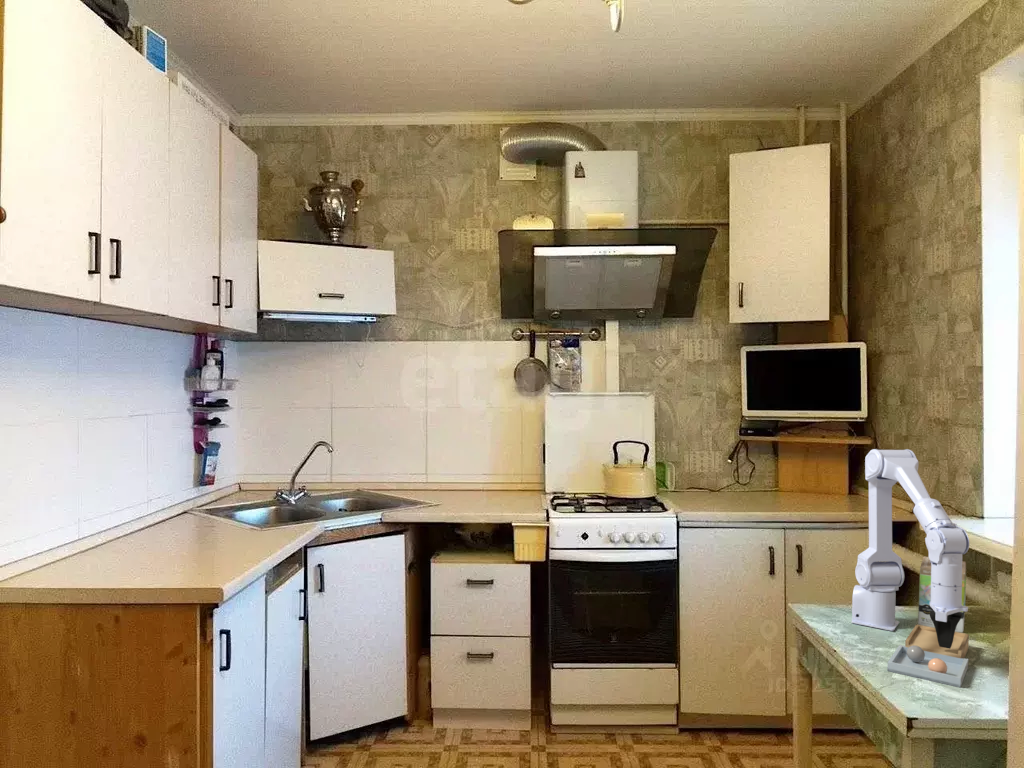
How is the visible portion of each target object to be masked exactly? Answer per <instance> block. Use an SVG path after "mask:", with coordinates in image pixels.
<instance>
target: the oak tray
mask: <svg viewBox="0 0 1024 768" xmlns="http://www.w3.org/2000/svg"><path fill="white" fill-rule="evenodd" d="M969 635H970V634H968V633H964V632H955V634H954V639H953V643H952V646H951V648H950V649H949V648H944V647H940V646H939V643H938V639H937V634H936V629H935V628H933V627H928V626H923V625H918V623H916V624H915V626H914V627H913V628H912V630H911V632H909V634H908V636H907V638H906V639H905V645H904V646H905V647H908V648H909V647H910V646H913V645H916V646H919V647H921V648H922V649H923V651H927V652H932V653H937V654H942V655H947V656H951V657H956V658H965V657H966V656H967V653H968V650H969V649H970V648H969V647H970V646H969V640H970V639H969V638H970V637H969ZM965 659H966V658H965Z"/></svg>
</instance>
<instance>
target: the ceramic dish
mask: <svg viewBox="0 0 1024 768" xmlns="http://www.w3.org/2000/svg"><path fill="white" fill-rule="evenodd" d="M907 649H908V647H905V645H903V644H902V645H901V644H899V645H898V646H897V648H896V649H895V651H894V652H893V654H891V657H890V658H889V660H888V661H887V672H891V673H896V674H900V675H904V676H909V677H913V678H917V679H922V680H926V681H930V682H935V683H938V684H943V685H948V686H953V687H957V688H961V687H962V685H963V682H964V679H965V676H966V674H967V671H968V669H969V658H956V657H951V656H947V655H942V654H937V653H932V652H927V651H924V653H925V658H924V660H923V661H921V662H913V661H911V660H910V659H909V658H908V656H907ZM933 658H939V659H941V660H943V661H944V662H945V663H946V665H947V672H946V674H944V673H939V672H935V671H930V670H929V668H928V663H929V661H930V660H931V659H933Z"/></svg>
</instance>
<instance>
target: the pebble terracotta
mask: <svg viewBox="0 0 1024 768" xmlns="http://www.w3.org/2000/svg"><path fill="white" fill-rule="evenodd" d="M928 668H929V670H930V671H935V672H939V673H944V674H946V672H947V665H946V663H945V662H944V661H943V660H941V659H939V658H933V659H931V660H930V661H929V663H928Z"/></svg>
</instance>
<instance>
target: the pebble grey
mask: <svg viewBox="0 0 1024 768" xmlns="http://www.w3.org/2000/svg"><path fill="white" fill-rule="evenodd" d="M907 656H908V658H909V659H910V660H911V661H913V662H921V661H923V660H924V658H925V653H924V651H923V649H922V648H921V647H919V646H916V645H913V646H910V647H909V648H908V649H907Z"/></svg>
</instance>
